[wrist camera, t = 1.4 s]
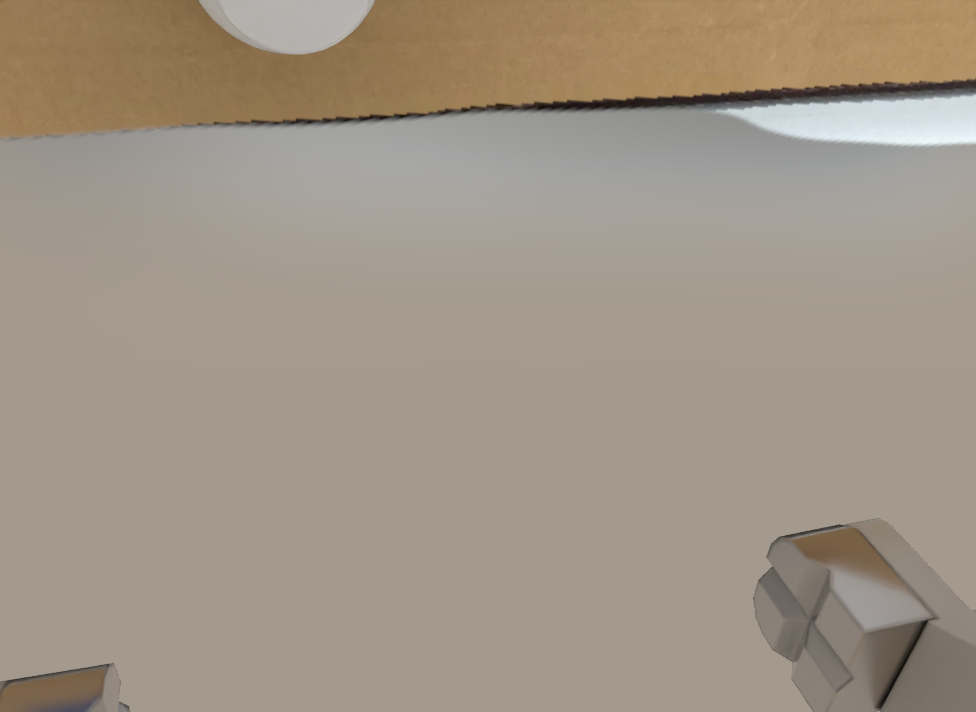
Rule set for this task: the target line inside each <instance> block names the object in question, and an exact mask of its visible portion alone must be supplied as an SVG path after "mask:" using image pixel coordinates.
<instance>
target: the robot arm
mask: <svg viewBox="0 0 976 712" xmlns="http://www.w3.org/2000/svg"><path fill="white" fill-rule="evenodd" d="M767 559H768V560H769V562H770V564H771V565H772V567H771V568H770V569H769V570H768V571H767V572H766V573H765V574H764V575H763V576H762V577H761V578H760V579H759V580H758V583H757V586H756V590H755V594H754V597H753V599H754V607H755V614H756V619H757V621H758V624H759V627H760V629H761V632H762V634H763V635H764V637H765V639H766V640H767V642H768V643H769V645H770V646H771V648H772V650H774V651H775V652H777V653H779V654H780V655H782V656H783V657H785V658H787V659H788V660H790V661H792V680H793V682H794V683H795V685H796V686H797V688H798V689H799V691H800V692H801V694H802V695H803V697H804V698H805V700H806V702H807V703H808V705H809V706H810V707H811V709H812V710H813V712H877V711H880V712H976V610H973V611H971V610H970V609H969V608H968V607H967V605H966V604H965V603H964V602H963V601H962V600H961V599H960V598H959V597H958V596H957V595H956V594H955V593H954V592H953V590H952V589H951V588H950V587H949V586H948V585H947V584H946V583H945V582H944V581H943V580H942V579H941V578H940V577H939V576H938V574H936V572H935V571H934V570H933V569H932V568H931V567H930V566H929V565H928V564H927V563H926V562H925V561H924V560H923V558H922V557H921V556H920V555H919V554H918V553H917V552H916V551H915V550H914V549H913V548H912V547H911V546H910V545H909V543H908V542H907V541H906V540H905V539H904V538H903V537H902V536H901V535H900V534H899V533H898V532H897V531H896V530H895V529H894V527H892V526H891V525H890V524H889V523H887V522H885V521H883V520H881V519H879V518H878V519H872V520H865V521H860V522H855V523H850V524H846V525H835V526H830V527H825V528H820V529H815V530H810V531H805V532H800V533H796V534H791V535H786V536H781V537H779V538H777V539H776V540H775V541H774V542H773V543H771V546H770V548H769V551H768V554H767ZM120 685H121V681H120V679H119V676H118V673H117V670H116V668H115V665H114V663H112V664H105V665H99V666H93V667H88V668H81V669H75V670H68V671H62V672H56V673H50V674H44V675H38V676H32V677H25V678H19V679H13V680H7V681H1V682H0V712H130V709H129V706H127V705H125V704H123V703H121V702H119V695H120Z"/></svg>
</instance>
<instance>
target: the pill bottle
mask: <svg viewBox="0 0 976 712" xmlns="http://www.w3.org/2000/svg"><path fill="white" fill-rule="evenodd" d="M198 1H199V3H200V4H201V5H202V7H203V8H204V9H205V11H206V12H207V13H208V14H209V15H210V17H211V18H212V19H213V20H214V21H215V22H216V23H217V24H218V25H220V26H221V27H222V28H223V29H224V30H226V31H227V32H228V33H229V34H231V35H232V36H234V37H235V38H237V39H239V40H241V41H242V42H244V43H246V44H248V45H250V46H253V47H255V48H258V49H261V50H264V51H268V52H273V53H278V54H298V55H301V54H309V53H315V52H318V51H322V50H325V49H327V48H329V47H331V46H333V45H335V44H337V43H339V42H340V41H341V40H343V39H344V38H345V37H347V36H348V35H349V34H350V33H352V32H353V31H354V30H355V29H356V28H357V27H358V26H359V25H360V24H361V22H362V21H363V20H364V19H365V17H366V16H367V14H368V13H369V11H370V9H371V8H372V6H373V4H374V2H375V0H198Z"/></svg>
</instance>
